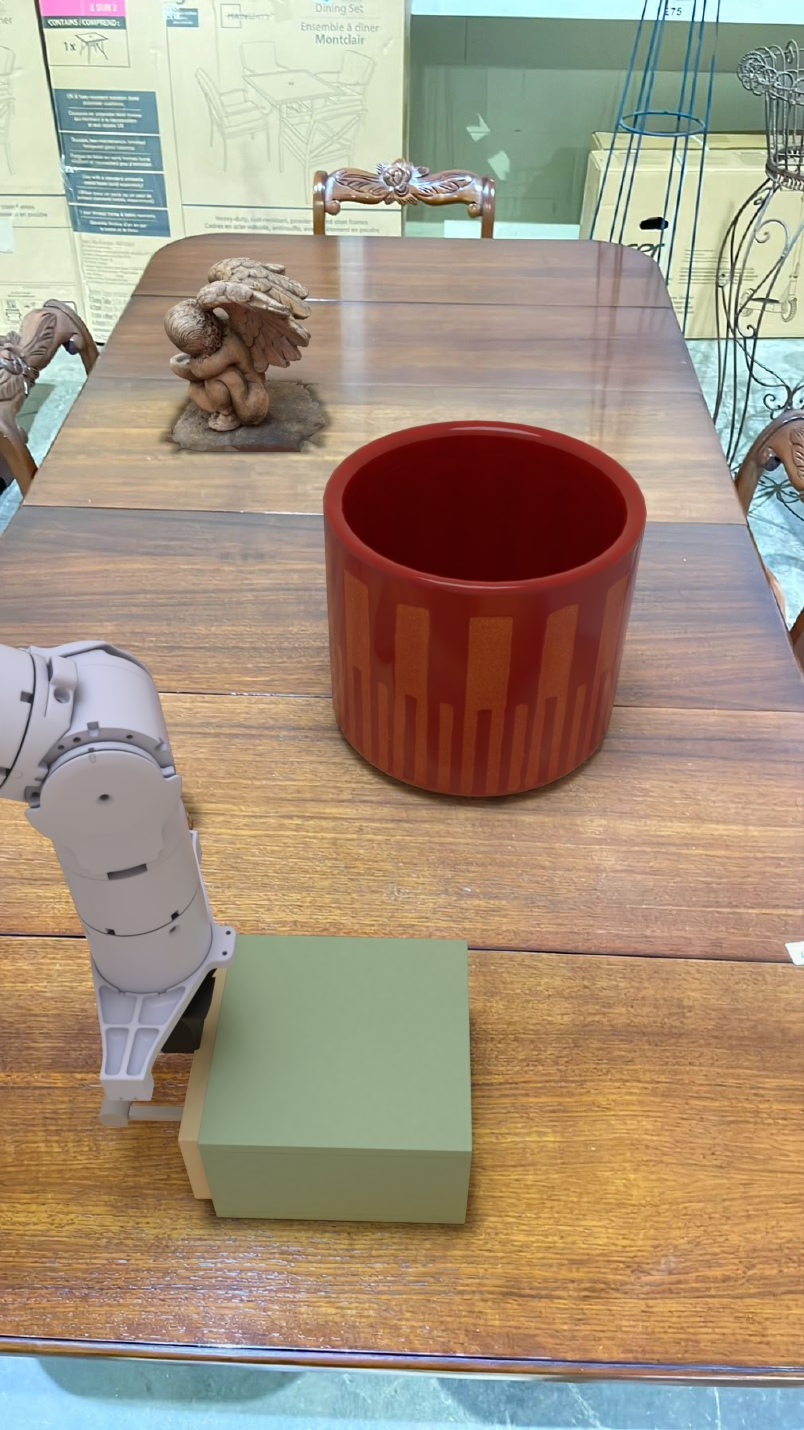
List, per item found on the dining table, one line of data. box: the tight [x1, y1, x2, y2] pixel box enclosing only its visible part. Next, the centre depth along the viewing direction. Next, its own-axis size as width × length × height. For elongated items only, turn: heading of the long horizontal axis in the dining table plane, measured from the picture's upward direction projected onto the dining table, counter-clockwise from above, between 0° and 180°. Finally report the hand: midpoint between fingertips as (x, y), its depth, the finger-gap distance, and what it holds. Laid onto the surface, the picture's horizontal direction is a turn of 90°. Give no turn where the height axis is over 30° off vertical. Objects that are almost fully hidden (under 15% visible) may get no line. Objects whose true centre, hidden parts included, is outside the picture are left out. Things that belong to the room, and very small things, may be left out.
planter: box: [322, 419, 648, 798], centre depth 83 cm, size 23×23×20 cm
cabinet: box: [197, 933, 473, 1225], centre depth 61 cm, size 14×13×9 cm
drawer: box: [97, 968, 227, 1200], centre depth 61 cm, size 18×11×7 cm, turn 89°
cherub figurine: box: [163, 257, 326, 452], centre depth 122 cm, size 18×18×18 cm
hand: (181, 1041), depth 59 cm, fingers closed, pressing on drawer
